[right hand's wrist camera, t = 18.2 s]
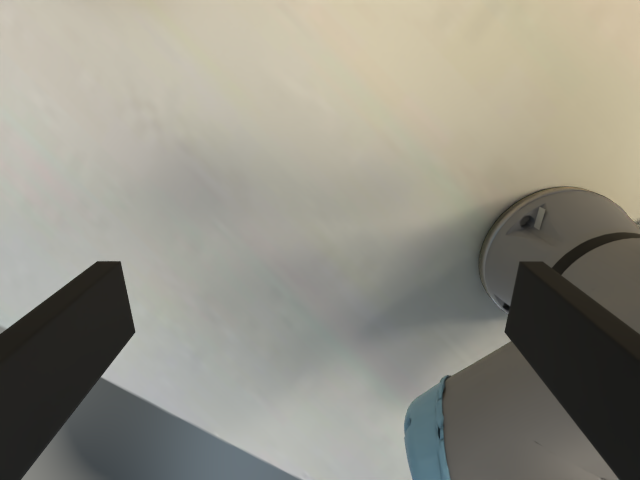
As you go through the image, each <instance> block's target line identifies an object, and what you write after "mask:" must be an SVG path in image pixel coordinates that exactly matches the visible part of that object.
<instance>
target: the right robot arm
mask: <svg viewBox="0 0 640 480" xmlns="http://www.w3.org/2000/svg"><path fill="white" fill-rule="evenodd" d="M479 272H480V278H481V281H482V284H483V286H484V288H485V290H486V292H487V293H488V295H489V296H490V297H491V298H492V300H493V301H494V302H495V303H496V304H497V306H499V307H500V308H501V309H502V310H503V311H505V312H506V313H507V314H508V319H507V323H506V328H505V333H506V335H507V336H508V337H509V338H510V340H511V342H509V343H507V344H506V345H504V346H502V347H501V348H499V349H497V350H496V351H494V352H492V353H491V354H489V355H487V356H486V357H484V358H482V359H481V360H479V361H477V362H475V363H474V364H472V365H470V366H468V367H467V368H465V369H463V370H461V371H460V372H458V373H456V374H454V375H453V376H448V375H447V376H445V377H443V378H442V379H441V381H440V383H438V384H437V385H435V386H434V387H432V388H431V389H429V390H428V391H426V392H425V393H423V394H422V395H420V396H419V397H417V398H416V399H415V400H414V401H413V402H412V403H411V404H410V406H409V408H408V410H407V413H406V416H405V423H404V431H405V447H406V453H407V459H408V463H409V467H410V471H411V475H412V479H413V480H640V228H639V227H638V225H637V224H636V223H635V222H634V221H633V220H632V219H631V218H630V217H629V216H628V215H627V213H626V212H625V211H624V210H623V209H622V208H621V207H620V206H618V205H617V204H616V203H614V202H613V201H611V200H610V199H608V198H606V197H604V196H602V195H600V194H597V193H594V192H592V191H589V190H585V189H582V188H576V187H557V188H550V189H546V190H542V191H539V192H536V193H534V194H532V195H529V196H527V197H525V198H523V199H522V200H520V201H519V202H517V203H515V204H514V205H513V206H511V207H510V208H509V209H508V210H507V211H505V212H504V213H503V214H502V215H501V216H500V217H499V218H498V220H497V221H496V222H495V223H494V225H493V226H492V228H491V229H490V231H489V232H488V234H487V236H486V238H485V240H484V243H483V246H482V249H481V253H480V259H479ZM134 333H135V328H134V323H133V319H132V314H131V309H130V304H129V299H128V295H127V290H126V285H125V280H124V276H123V271H122V266H121V261H97V262H96V263H94V264H93V265H92V266H90V267H89V268H88V269H86V270H85V271H84V272H82V273H81V274H80V275H78V276H77V277H76V278H74V279H73V280H72V281H70V282H69V283H68V284H66V285H65V286H64V287H62V288H61V289H60V290H58V291H57V292H56V293H54V294H53V295H52V296H50V297H49V298H48V299H46V300H45V301H44V302H42V303H41V304H40V305H38V306H37V307H36V308H34V309H33V310H32V311H30V312H29V313H28V314H26V315H25V316H24V317H22V318H21V319H20V320H18V321H17V322H16V323H14V324H13V325H12V326H10V327H9V328H8V329H6V330H5V331H4V332H3V333H1V334H0V480H21V479H22V478H23V476H24V475H25V474H26V472H27V471H28V470H29V469H30V467H31V466H32V465H33V463H34V462H35V461H36V459H37V458H38V457H39V456H40V454H41V453H42V452H43V450H44V449H45V448H46V447H47V445H48V444H49V443H50V441H51V440H52V439H53V438H54V436H55V435H56V434H57V432H58V431H59V430H60V429H61V427H62V426H63V425H64V423H65V422H66V421H67V420H68V418H69V417H70V416H71V414H72V413H73V412H74V411H75V409H76V408H77V407H78V405H79V404H80V403H81V402H82V400H83V399H84V398H85V396H86V395H87V394H88V393H89V391H90V390H91V389H92V387H93V386H94V385H95V384H96V382H97V381H98V380H99V378H100V377H101V376H102V375H103V373H104V372H105V371H106V369H107V368H108V367H109V365H110V364H111V363H112V362H113V360H114V359H115V358H116V356H117V355H118V354H119V353H120V351H121V350H122V349H123V347H124V346H125V345H126V344H127V342H128V341H129V340H130V338H131V337H132V336H133V335H134Z"/></svg>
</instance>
